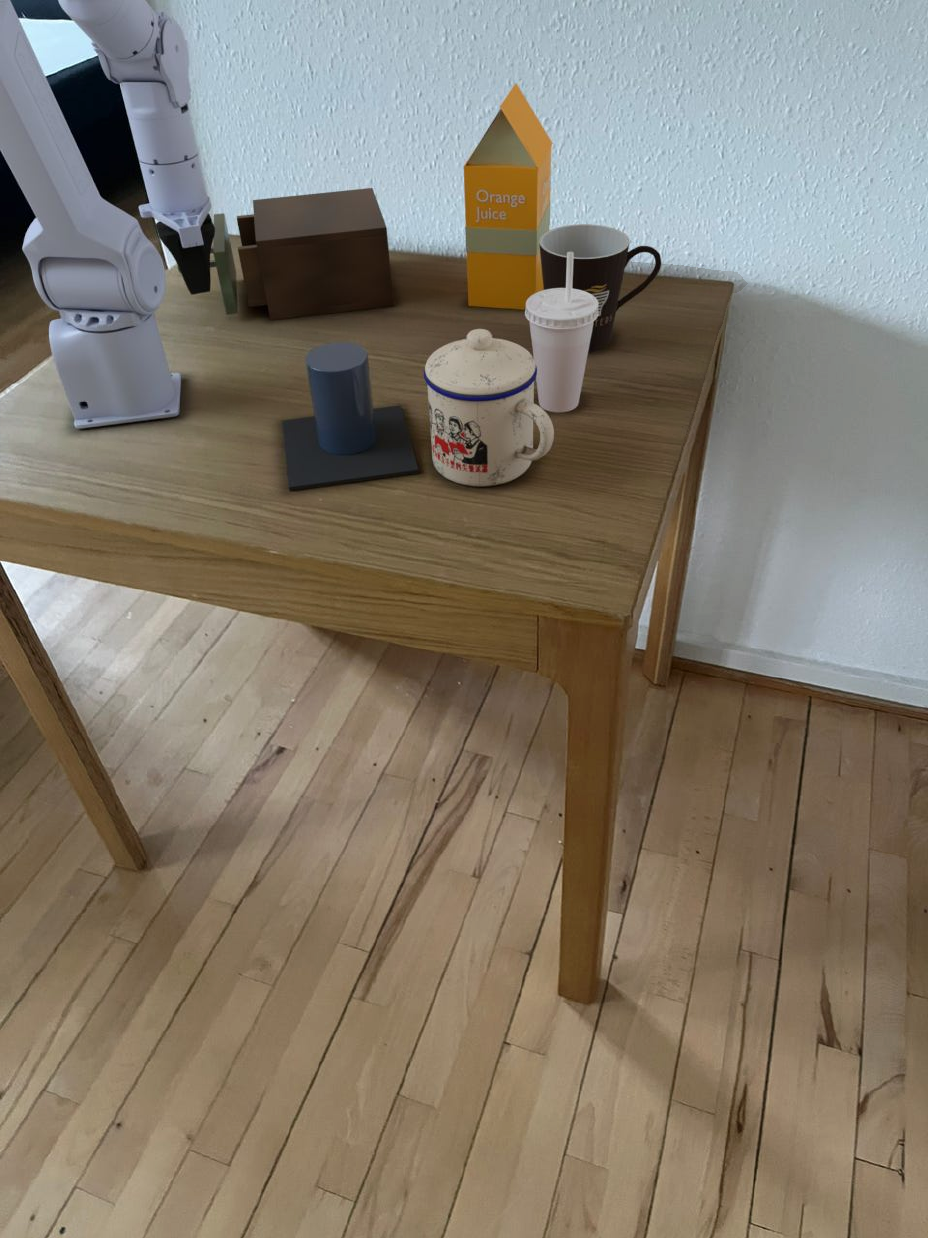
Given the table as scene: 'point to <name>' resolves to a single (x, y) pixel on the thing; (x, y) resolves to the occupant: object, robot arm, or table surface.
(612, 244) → the coffee mug
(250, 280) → the drawer
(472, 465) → the teacup with lid
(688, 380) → the table surface
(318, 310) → the cabinet
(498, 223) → the orange juice
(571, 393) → the smoothie
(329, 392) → the blue-grey cylinder
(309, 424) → the mat
